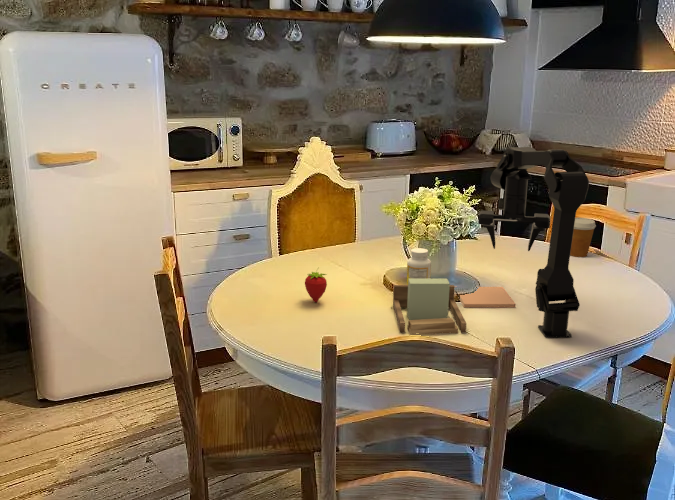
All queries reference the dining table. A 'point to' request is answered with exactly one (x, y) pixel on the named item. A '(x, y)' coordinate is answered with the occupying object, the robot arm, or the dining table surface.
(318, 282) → the strawberry
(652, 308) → the dining table surface
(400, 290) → the rack
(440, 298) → the sage green square block
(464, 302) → the tile
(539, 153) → the robot arm
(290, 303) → the dining table surface
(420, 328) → the offcut stack
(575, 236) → the disposable coffee cup
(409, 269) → the supplement bottle
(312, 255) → the dining table surface
